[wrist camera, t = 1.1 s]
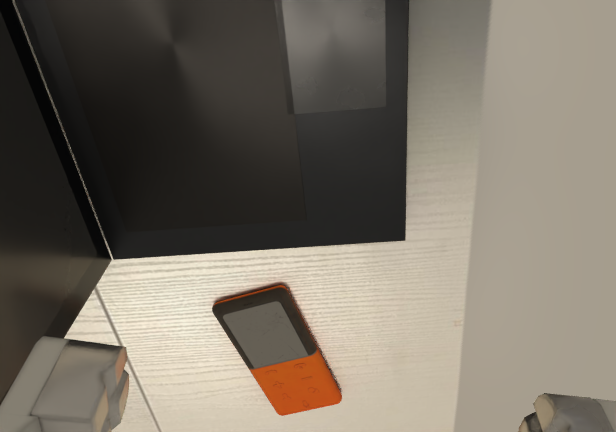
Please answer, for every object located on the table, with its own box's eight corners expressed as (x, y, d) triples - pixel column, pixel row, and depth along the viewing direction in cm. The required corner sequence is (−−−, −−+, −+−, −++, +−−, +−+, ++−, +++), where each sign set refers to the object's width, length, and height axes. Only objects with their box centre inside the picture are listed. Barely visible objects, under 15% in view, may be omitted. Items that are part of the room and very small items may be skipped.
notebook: (407, -360, 22) (414, -377, 21) (401, 224, 39) (405, 241, 38) (-75, -297, 24) (-105, -308, 22) (121, 243, 41) (113, 260, 39)
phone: (278, 419, 51) (208, 311, 43) (278, 407, 52) (210, 300, 44) (344, 405, 50) (284, 291, 42) (343, 393, 51) (285, 279, 43)
